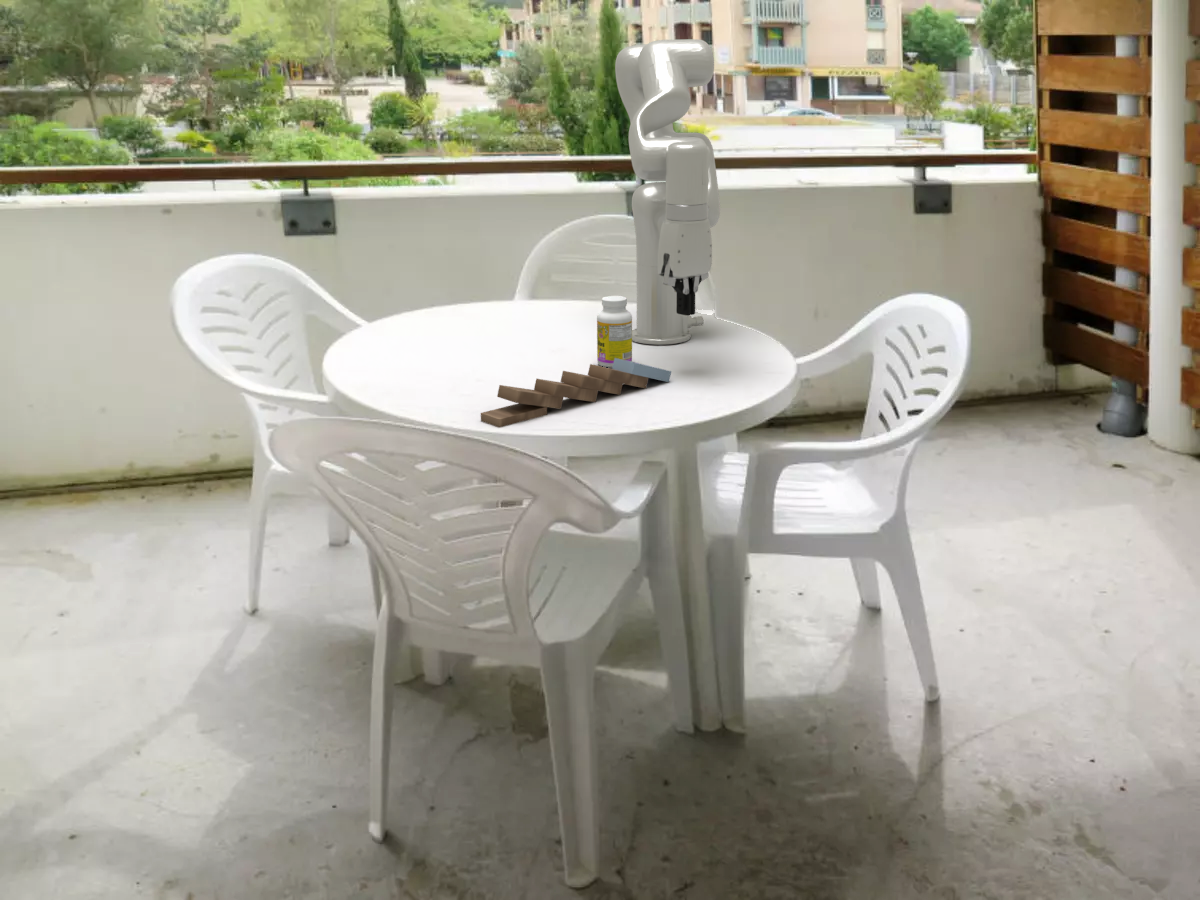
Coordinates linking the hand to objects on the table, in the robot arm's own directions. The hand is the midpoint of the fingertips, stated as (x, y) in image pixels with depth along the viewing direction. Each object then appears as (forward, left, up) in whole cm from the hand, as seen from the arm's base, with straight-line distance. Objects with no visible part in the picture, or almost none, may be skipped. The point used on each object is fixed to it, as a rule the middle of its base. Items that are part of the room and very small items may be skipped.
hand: (685, 313), depth 237 cm
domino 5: (+12, +3, -10) cm, 16 cm away
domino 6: (+6, +2, -10) cm, 12 cm away
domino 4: (+18, +5, -10) cm, 21 cm away
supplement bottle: (+8, -12, -11) cm, 18 cm away
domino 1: (+31, +8, -10) cm, 34 cm away
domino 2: (+34, +9, -11) cm, 37 cm away
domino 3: (+24, +6, -10) cm, 27 cm away
